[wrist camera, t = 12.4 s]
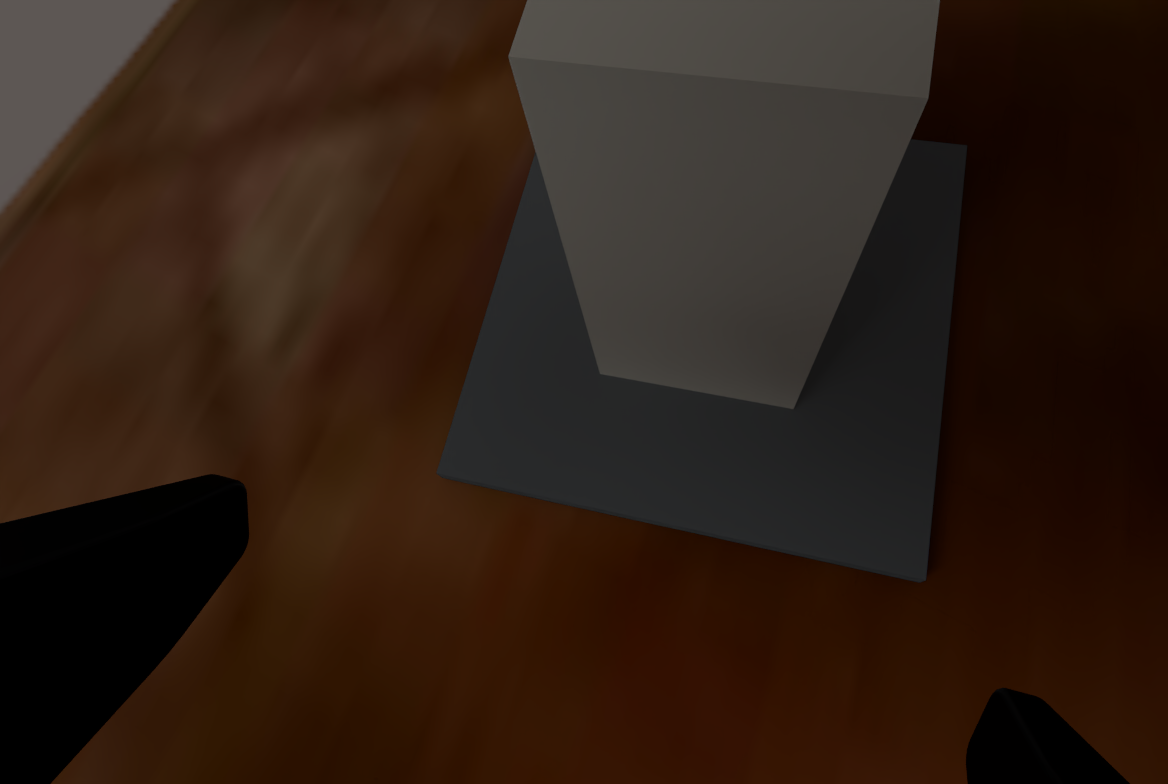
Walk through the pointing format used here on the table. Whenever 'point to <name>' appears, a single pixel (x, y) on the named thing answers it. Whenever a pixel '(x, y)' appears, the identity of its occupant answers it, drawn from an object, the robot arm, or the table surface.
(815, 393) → the mat
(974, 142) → the table surface
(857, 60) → the blank
